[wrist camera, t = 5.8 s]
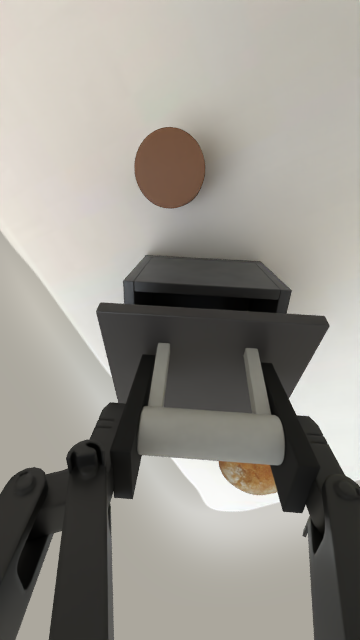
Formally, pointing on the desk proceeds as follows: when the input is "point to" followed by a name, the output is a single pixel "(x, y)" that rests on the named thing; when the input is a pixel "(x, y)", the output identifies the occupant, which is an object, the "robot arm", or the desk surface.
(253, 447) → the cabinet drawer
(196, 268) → the dark grey box
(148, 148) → the brown cylinder
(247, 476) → the bread roll
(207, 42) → the desk surface
